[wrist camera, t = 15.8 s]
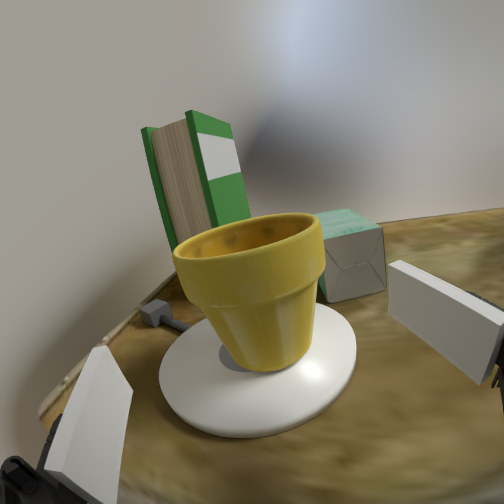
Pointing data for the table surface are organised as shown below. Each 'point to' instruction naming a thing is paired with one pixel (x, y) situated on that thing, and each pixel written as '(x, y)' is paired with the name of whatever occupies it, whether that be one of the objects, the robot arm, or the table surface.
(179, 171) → the hardback book
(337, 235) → the box
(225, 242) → the plant pot
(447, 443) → the table surface
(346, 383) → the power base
